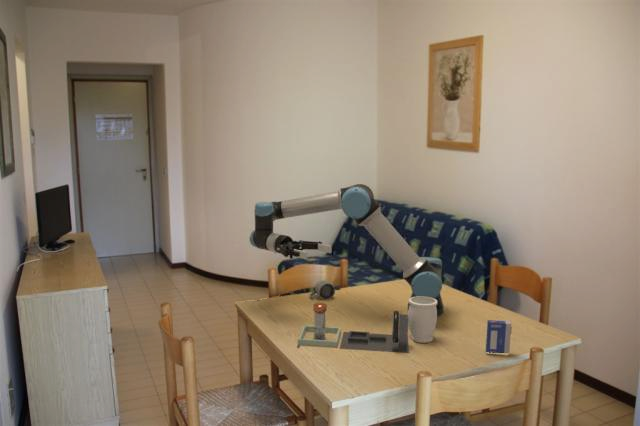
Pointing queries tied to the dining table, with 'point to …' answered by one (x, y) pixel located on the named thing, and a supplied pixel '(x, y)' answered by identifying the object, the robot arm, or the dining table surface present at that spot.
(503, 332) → the walkman
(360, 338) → the pulley plate
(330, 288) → the ceramic mug
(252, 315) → the dining table surface
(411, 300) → the jar
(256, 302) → the dining table surface
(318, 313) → the copper-capped metal cylinder
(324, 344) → the tray
